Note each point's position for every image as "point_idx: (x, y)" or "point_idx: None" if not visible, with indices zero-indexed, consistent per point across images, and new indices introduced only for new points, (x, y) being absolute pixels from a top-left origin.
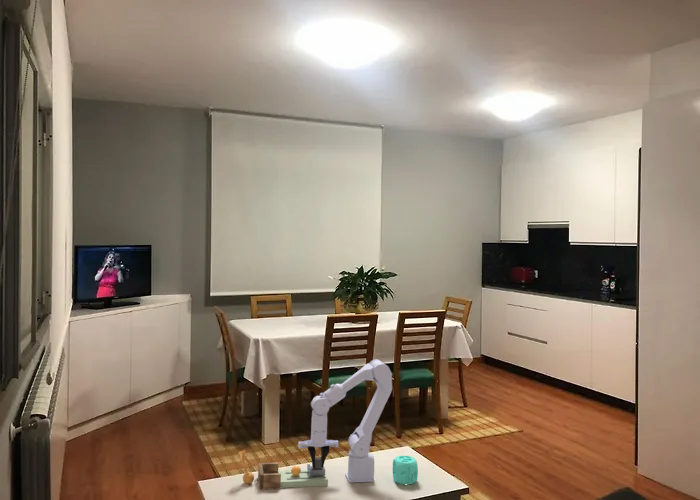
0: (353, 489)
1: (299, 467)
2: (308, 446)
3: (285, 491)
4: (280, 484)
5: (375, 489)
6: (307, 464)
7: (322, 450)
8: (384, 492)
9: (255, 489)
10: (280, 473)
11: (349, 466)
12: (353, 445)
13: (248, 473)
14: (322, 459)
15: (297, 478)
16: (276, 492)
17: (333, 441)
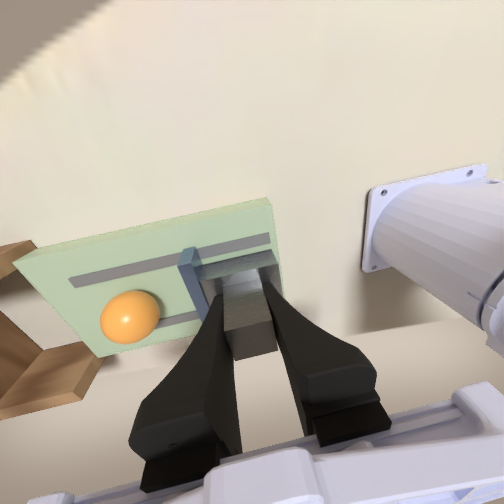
0: (360, 309)
1: (143, 327)
2: (159, 501)
3: (140, 354)
4: (105, 357)
5: (425, 299)
6: (177, 265)
7: (301, 417)
8: (439, 312)
9: None
10: (74, 395)
11: (414, 273)
12: None
13: None
14: (283, 357)
15: (159, 326)
16: (112, 364)
17: (490, 494)
